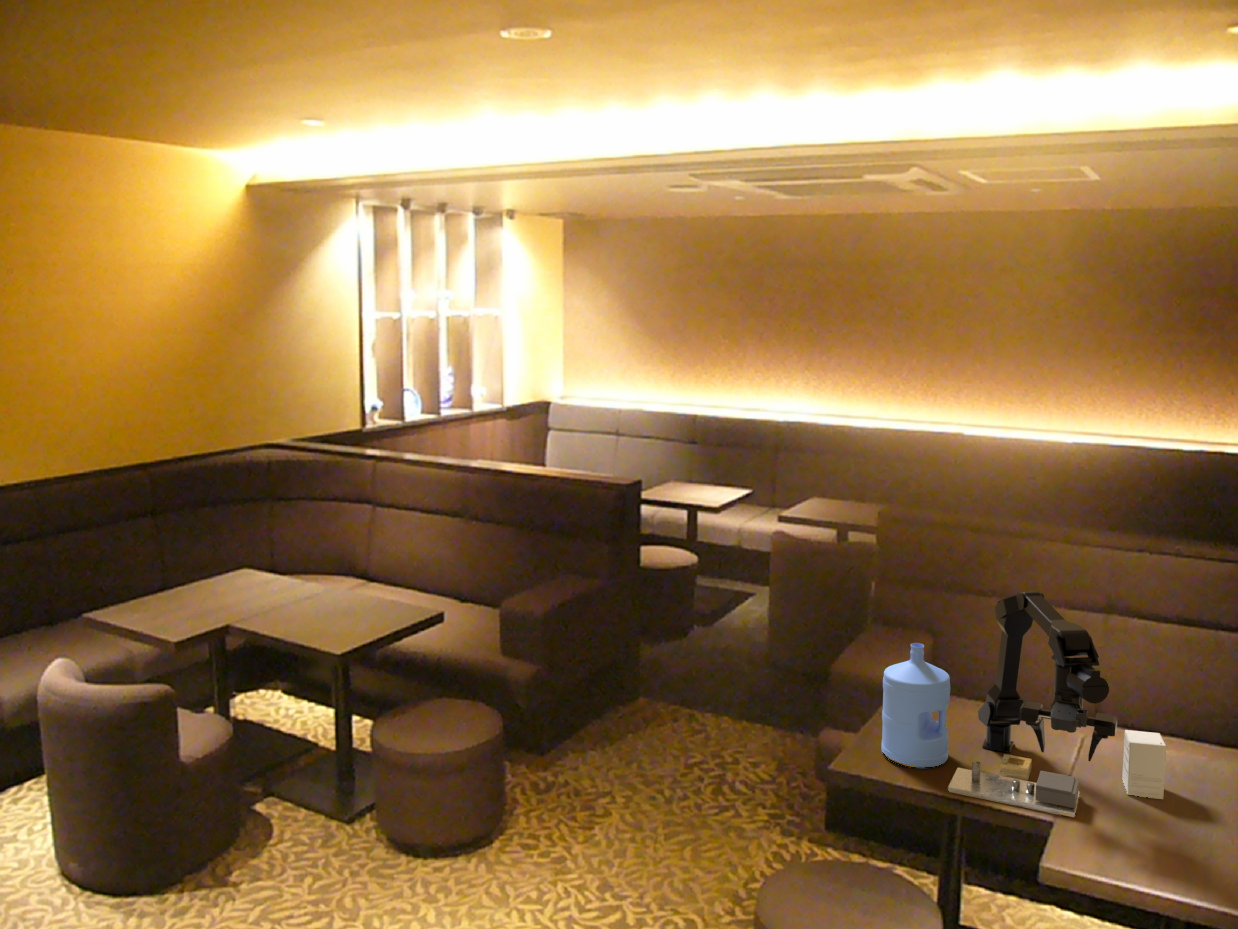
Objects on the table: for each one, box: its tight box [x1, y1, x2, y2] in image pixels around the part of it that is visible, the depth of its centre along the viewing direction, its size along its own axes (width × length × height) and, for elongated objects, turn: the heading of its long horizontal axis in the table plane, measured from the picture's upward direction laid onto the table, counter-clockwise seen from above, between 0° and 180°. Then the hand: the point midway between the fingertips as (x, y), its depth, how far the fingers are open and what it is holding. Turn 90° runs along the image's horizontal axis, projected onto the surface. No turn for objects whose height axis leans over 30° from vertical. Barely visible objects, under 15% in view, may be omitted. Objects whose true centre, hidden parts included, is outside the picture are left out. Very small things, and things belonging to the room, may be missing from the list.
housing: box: [1035, 770, 1080, 808], centre depth 215 cm, size 8×8×4 cm
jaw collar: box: [999, 753, 1033, 781], centre depth 229 cm, size 6×6×3 cm
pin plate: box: [947, 760, 1081, 816], centre depth 219 cm, size 11×26×6 cm, turn 61°
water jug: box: [881, 642, 951, 768], centre depth 238 cm, size 16×16×28 cm
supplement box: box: [1121, 729, 1167, 800], centre depth 219 cm, size 7×7×13 cm
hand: (1066, 756), depth 212 cm, fingers open, 9 cm apart
